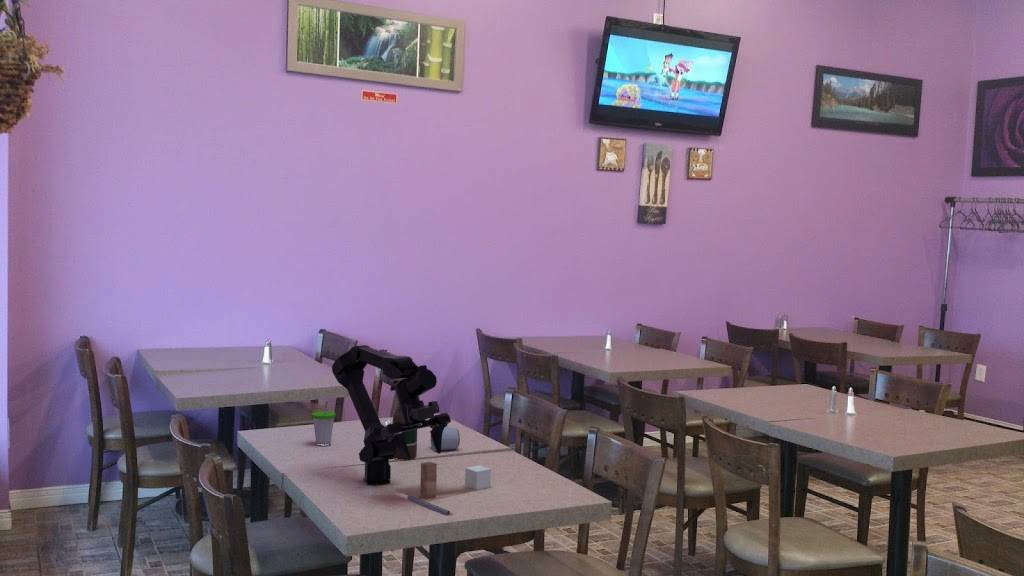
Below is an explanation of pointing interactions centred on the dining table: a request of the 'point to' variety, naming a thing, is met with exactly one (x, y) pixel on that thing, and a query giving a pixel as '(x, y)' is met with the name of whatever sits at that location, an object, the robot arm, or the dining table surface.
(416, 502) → the lane rails
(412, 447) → the beer bottle
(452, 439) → the ceramic mug
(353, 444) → the dining table surface
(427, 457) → the dining table surface
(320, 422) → the cup
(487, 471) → the light blue-gray cube
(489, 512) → the dining table surface
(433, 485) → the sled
